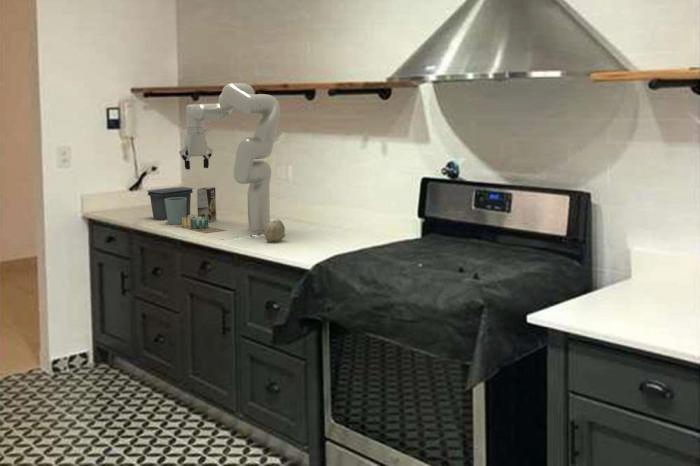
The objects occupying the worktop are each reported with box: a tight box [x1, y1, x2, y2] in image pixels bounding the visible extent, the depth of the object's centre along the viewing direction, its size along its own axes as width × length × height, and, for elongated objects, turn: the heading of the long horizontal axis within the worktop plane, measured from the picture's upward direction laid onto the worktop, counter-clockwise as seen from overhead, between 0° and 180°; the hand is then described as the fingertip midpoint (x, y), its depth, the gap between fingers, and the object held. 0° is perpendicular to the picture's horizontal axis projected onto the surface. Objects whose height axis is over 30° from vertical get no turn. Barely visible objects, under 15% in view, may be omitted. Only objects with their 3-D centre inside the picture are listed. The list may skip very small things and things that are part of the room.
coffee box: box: [196, 186, 217, 224], centre depth 392 cm, size 9×6×16 cm
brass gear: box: [181, 215, 198, 227], centre depth 369 cm, size 8×8×4 cm
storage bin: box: [146, 186, 194, 221], centre depth 406 cm, size 21×16×14 cm
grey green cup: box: [165, 197, 186, 226], centre depth 386 cm, size 10×10×12 cm
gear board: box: [174, 214, 227, 234], centre depth 362 cm, size 26×11×6 cm, turn 41°
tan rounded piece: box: [261, 219, 286, 243], centre depth 336 cm, size 9×8×10 cm
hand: (196, 168), depth 379 cm, fingers open, 9 cm apart
